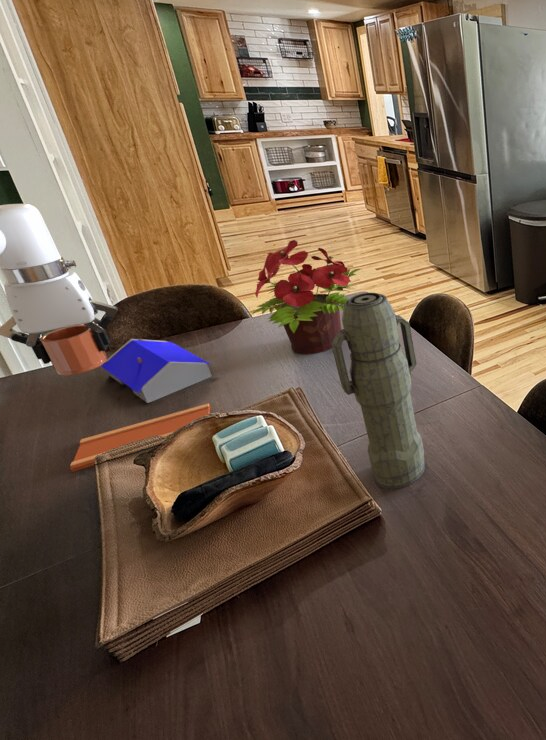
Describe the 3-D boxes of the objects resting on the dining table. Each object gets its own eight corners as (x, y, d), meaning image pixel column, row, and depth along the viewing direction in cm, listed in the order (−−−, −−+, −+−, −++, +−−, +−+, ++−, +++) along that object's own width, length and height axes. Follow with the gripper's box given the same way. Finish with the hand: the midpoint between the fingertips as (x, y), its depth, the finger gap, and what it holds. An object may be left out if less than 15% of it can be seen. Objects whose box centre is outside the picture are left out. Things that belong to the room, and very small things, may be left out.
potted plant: (274, 331, 137) (244, 231, 126) (375, 315, 147) (356, 222, 136) (250, 385, 112) (210, 266, 101) (374, 362, 122) (351, 252, 111)
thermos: (442, 463, 89) (415, 293, 76) (383, 503, 80) (341, 319, 67) (415, 443, 94) (385, 280, 80) (357, 478, 85) (312, 303, 72)
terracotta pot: (52, 379, 91) (34, 345, 88) (61, 363, 96) (45, 331, 93) (104, 367, 95) (88, 334, 92) (110, 352, 100) (95, 321, 97)
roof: (105, 377, 115) (93, 350, 112) (175, 352, 126) (165, 327, 123) (143, 404, 105) (130, 376, 102) (215, 375, 116) (205, 349, 113)
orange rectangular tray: (71, 472, 87) (69, 467, 86) (84, 442, 94) (81, 437, 94) (209, 430, 97) (207, 425, 97) (210, 406, 105) (208, 402, 104)
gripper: (104, 257, 95) (137, 334, 102) (-28, 276, 86) (19, 360, 93) (97, 267, 90) (133, 348, 97) (-45, 289, 80) (6, 377, 87)
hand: (77, 353), depth 95 cm, fingers closed on terracotta pot, 7 cm apart
